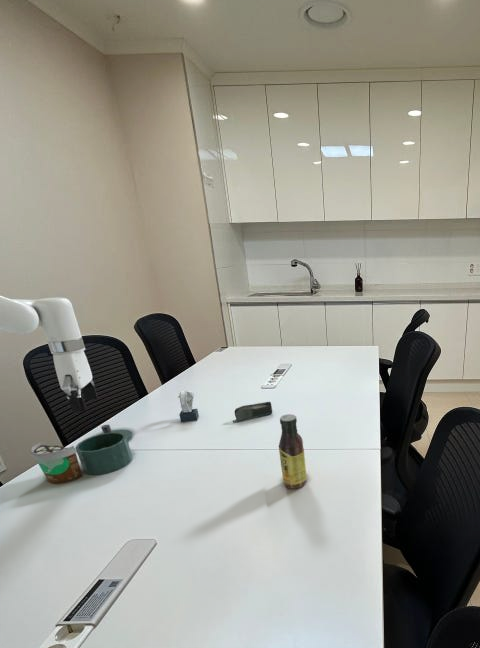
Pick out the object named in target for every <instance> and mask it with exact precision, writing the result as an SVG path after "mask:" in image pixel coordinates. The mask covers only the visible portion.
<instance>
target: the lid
mask: <svg viewBox="0 0 480 648" xmlns="http://www.w3.org/2000/svg"><path fill="white" fill-rule="evenodd" d="M100 428H101V431H102V432H101V433H98V434H97V435H99V434H103V433H111V432H120V433H123V434H125V436H126V438H127V441H128V442H129V440H131V438H132V437H133V432H132V431H131V430H129V429H113V430H112V427H111V426H110V424H104V425H101V426H100Z"/></svg>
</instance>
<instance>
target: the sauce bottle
mask: <svg viewBox="0 0 480 648" xmlns="http://www.w3.org/2000/svg"><path fill="white" fill-rule="evenodd" d="M297 422H298V421H297V416H296V415H295V414H292V413H289V414H284V415H282V416H280V418H279V424H280V427H281V428H280V429H281V435H280V439H279V443H278V452H279V460H280V468H281V473H282V481H283V484H284V486H285V487H286V488H287V489H299V488H302V487H303V486H305V485H306V483H307V467H306V457H305V448H304V441H303V438H302V436H301V435H300V434H299V433H298V428H297V427H298V426H297Z"/></svg>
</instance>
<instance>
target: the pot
mask: <svg viewBox="0 0 480 648" xmlns="http://www.w3.org/2000/svg"><path fill="white" fill-rule="evenodd" d="M102 433H103V432H102ZM98 434H99V435H98ZM98 434H96V435H93V436H90V437H87V438H84V439H83V440H82V441H80V442H78V443H77V444H76V445H75V446H74V448H75V449H76V451H77V453H76V455H77V457H78V460H79V461H80V464H81V466H82V469H83V471H84V473H85V474H87V475H90V476H101V475H105V474H110V473H113V472H117V471H119V470H121V469H124V468H125V467H126V466H128V465H129V464H130V463H131V462H132V461H133V454H132V451H131V448H130V445H129V440H128V441H127V438H126V436H125V434H123V433H120V432H111V433H103V434H101V433H98ZM105 447H107V448H105ZM102 448H104V449H102ZM100 449H101V450H100Z"/></svg>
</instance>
